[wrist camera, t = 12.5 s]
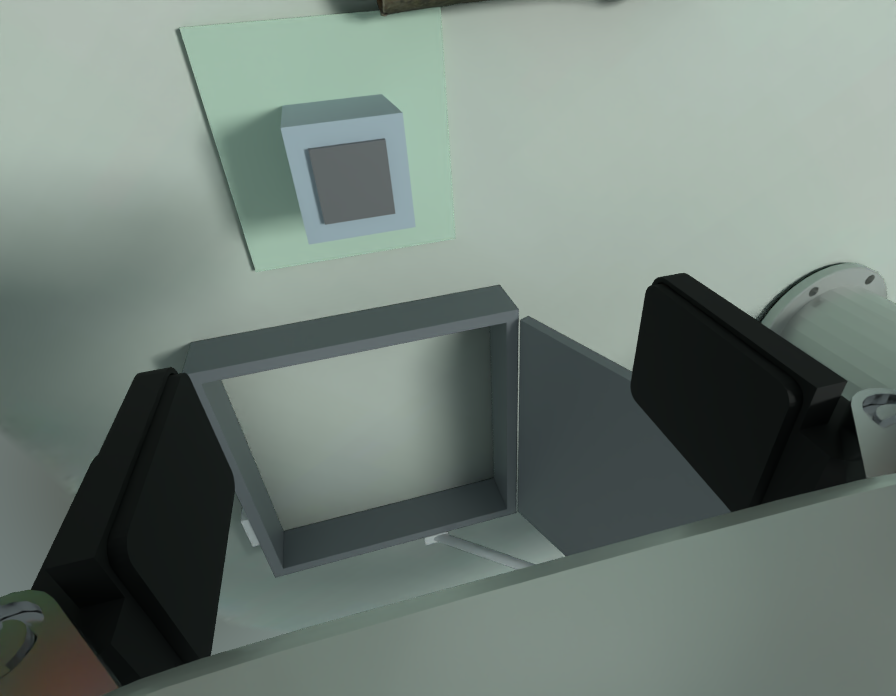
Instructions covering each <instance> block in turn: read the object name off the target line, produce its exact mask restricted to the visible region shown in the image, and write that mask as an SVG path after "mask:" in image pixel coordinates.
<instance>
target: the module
mask: <svg viewBox="0 0 896 696" xmlns="http://www.w3.org/2000/svg"><path fill="white" fill-rule="evenodd" d="M280 128H281V132H282V136H283V141H284V145H285V149H286V153H287V157H288V161H289V165H290V169H291V173H292V178H293V182H294V186H295V190H296V194H297V198H298V202H299V206H300V210H301V214H302V219H303V223H304V227H305V231H306V235H307V239H308V243H309V245H310V244H316V243H322V242H328V241H334V240H340V239H346V238H352V237H359V236H365V235H371V234H377V233H383V232H389V231H395V230H401V229H407V228H413V227H416V226H415V217H414V208H413V199H412V191H411V182H410V173H409V164H408V155H407V146H406V138H405V129H404V120H403V112H401V111H400V110H399V109H398V108H397V107H396V106H395V105H394V104H393V103H391V102H390V101H389V100H388V99H387V98H386V97H385V96H384V95H382V94H377V95H368V96H360V97H351V98H343V99H334V100H326V101H317V102H309V103H300V104H292V105H283V106H282V116H281V127H280Z"/></svg>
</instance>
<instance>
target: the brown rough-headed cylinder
mask: <svg viewBox="0 0 896 696" xmlns="http://www.w3.org/2000/svg"><path fill="white" fill-rule="evenodd" d="M479 1H486V0H377V4H378V7H379V10H380V15H381V16H384V17H385V16H387V15H390V14H395V13H401V12H407V11H413V10H420V9H427V8H435V7H443V6H448V5H453V4H458V3H468V2H479Z"/></svg>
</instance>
